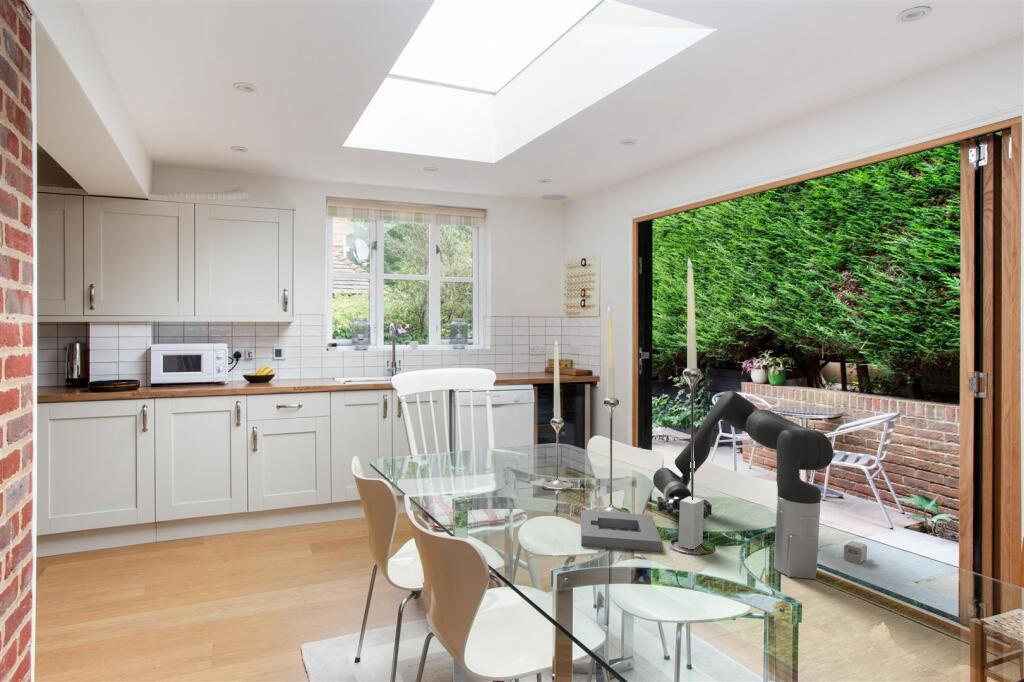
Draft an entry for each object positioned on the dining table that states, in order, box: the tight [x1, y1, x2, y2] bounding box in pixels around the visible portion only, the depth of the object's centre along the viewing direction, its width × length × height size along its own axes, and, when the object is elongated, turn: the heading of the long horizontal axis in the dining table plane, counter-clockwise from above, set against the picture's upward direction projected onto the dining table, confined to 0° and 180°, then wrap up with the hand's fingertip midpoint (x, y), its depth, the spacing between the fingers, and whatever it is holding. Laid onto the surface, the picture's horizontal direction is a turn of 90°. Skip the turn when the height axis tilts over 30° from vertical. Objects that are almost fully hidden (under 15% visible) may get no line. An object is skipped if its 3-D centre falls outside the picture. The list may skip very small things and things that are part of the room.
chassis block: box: [580, 509, 663, 553], centre depth 166 cm, size 22×20×2 cm
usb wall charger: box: [843, 540, 868, 565], centre depth 155 cm, size 4×7×4 cm, turn 134°
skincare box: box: [677, 496, 705, 550], centre depth 159 cm, size 6×4×12 cm
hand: (688, 513), depth 164 cm, fingers open, 8 cm apart
